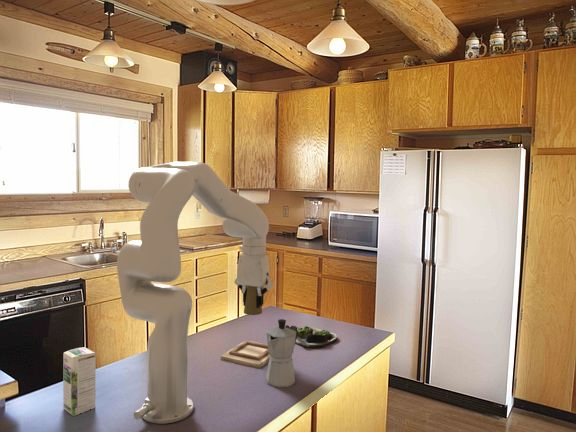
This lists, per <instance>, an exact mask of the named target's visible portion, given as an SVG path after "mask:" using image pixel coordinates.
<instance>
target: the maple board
mask: <svg viewBox="0 0 576 432" xmlns="http://www.w3.org/2000/svg"><path fill="white" fill-rule="evenodd" d="M270 357H271V356H270V355H269V351H268V343H267V344H266V343H261V342H257V341H252V340H247V339H246V340H244V341H243V342H241V343H239V344H238V345H236V346H234V347H233V348H231V349H229V350H228V351H226V352H225V353H223V354H222V355H220V360H221V361H225V362H231V363H235V364H239V365H243V366H248V367H253V368H257V369H260V368H261V367H263V366H264V365H265V364H267V363H269V358H270Z"/></svg>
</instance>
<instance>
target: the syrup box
mask: <svg viewBox="0 0 576 432" xmlns="http://www.w3.org/2000/svg"><path fill="white" fill-rule="evenodd" d="M62 356H63V358H62V359H63V364H62V365H63V367H62V368H63V370H62V371H63V378H62V379H63V380H62V381H63V389H62V391H63V394H62V395H63V399H62V400H63V404H62V405H63V407H62V408H63V409H64V410H65V411H66V412H68V413H69V414H70V415H71V416H73V417H75V416H78V415H80V413H81V414H83V413H86V412H88V411H90V409H91V410H92V409H95V408H96V352H95V351H92V350H91V349H90V348H87V347H76V348H73V349H69V350H67V351H64V352H63V355H62ZM85 411H86V412H85Z"/></svg>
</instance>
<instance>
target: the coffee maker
mask: <svg viewBox="0 0 576 432" xmlns="http://www.w3.org/2000/svg"><path fill="white" fill-rule="evenodd" d="M277 322H278V326H277V327H274V328H270V329H268V330H267V332H266V339H267V340H266V341H267V345H268V351H269V355H270V356H271V357H270V358H269V361H268V362H267V363H268V365H267V370H266V375H265V381H266V383H267V385H269V386H271V387H275V388H278V389H279V388H286V387H287V388H288V387H291V386H292V385H294V384H295V383H296V375H295V369H294V360H293V358H292V357H293V355H294V351H295V350H294V349H295V344H296V343H295V342H296V339H297V335H298V328H297V327H298V326H296V325H291V326H289V325H288V324H286V322H287V320H286V319H278V320H277Z"/></svg>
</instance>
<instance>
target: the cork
mask: <svg viewBox="0 0 576 432" xmlns="http://www.w3.org/2000/svg"><path fill="white" fill-rule="evenodd" d="M246 288H247V294H246V301H245V306H244V307H243V314H245V315H249V316H257V315H261V314H263V306H262V307H261V306H260V308H257V304H256V296H258V291H257V287H252V286H246Z"/></svg>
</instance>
